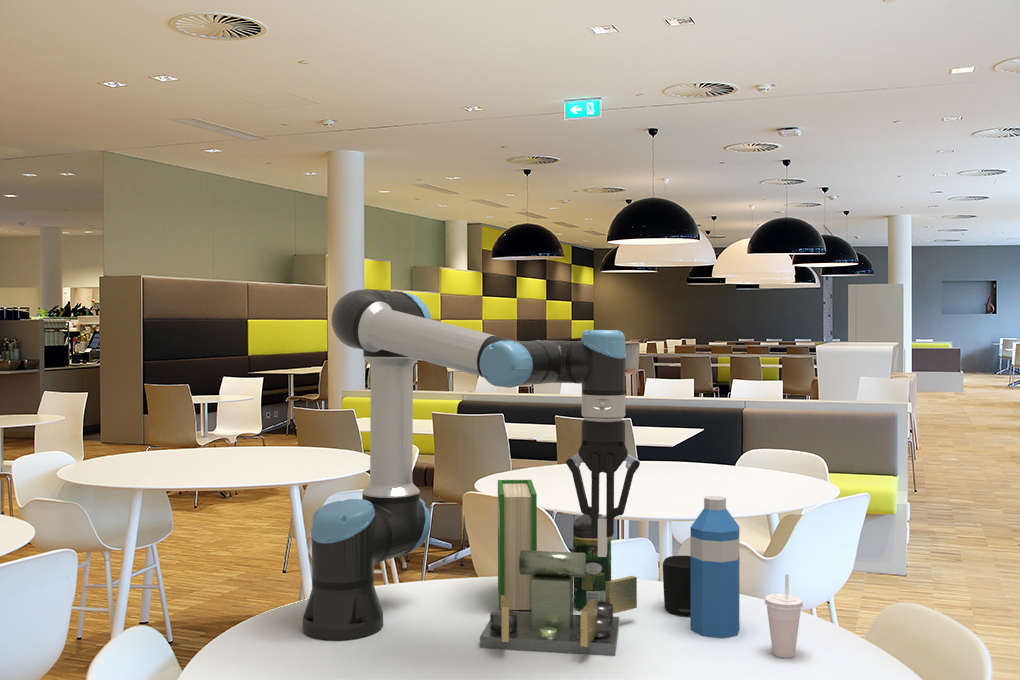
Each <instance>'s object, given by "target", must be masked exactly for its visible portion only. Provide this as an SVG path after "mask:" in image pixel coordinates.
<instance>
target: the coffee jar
mask: <svg viewBox="0 0 1020 680" xmlns="http://www.w3.org/2000/svg"><path fill="white" fill-rule="evenodd" d="M599 516H604V515H603V514H600V513H599ZM572 527H573V529H572V530H573V531H572V552H577V553H585V554H586V573H585V577H573V606H574V608H576V609H577V610H580V611H581V610H582V609H583V608H584V607H585V605H586V604H587V603H588V602H589V601H590V600H591V599H592V600H597V601H604V602H606V581H610V580H612V537H607V556H606V557H598V536H592V534H591V517H590V516H589V515H587V514H583V513H582V515H581V516H578V517H576V518H575V520H574V521H573V526H572Z"/></svg>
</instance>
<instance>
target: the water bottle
mask: <svg viewBox="0 0 1020 680" xmlns="http://www.w3.org/2000/svg"><path fill="white" fill-rule="evenodd" d="M690 556H691V617H690V631H692V632H694V633H695V634H698V635H699V636H701V637H707V638H716V639H725V638H731V637H736V636H738V635H739V632H740V629H741V628H740V525H739V523H738V522H737V521H736V520H735V519H734V517H733V516H732V514H731V513H730V511H729V510H728V509H727V497H724V496H720V495H708V496H704V497H703V509H702V511H701V512H700V513H699V515H698V516H697V517H696V518H695V520H694V522H693V523H692V524H691V526H690Z"/></svg>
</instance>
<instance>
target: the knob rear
mask: <svg viewBox="0 0 1020 680" xmlns="http://www.w3.org/2000/svg"><path fill="white" fill-rule="evenodd" d="M637 580H638V577H637V576H635V575H630V576H626V577H625V576H624V577H621V578H615V579H611V580H610V581H606V602H604V601H597V614H600V615H605V616H608V617H610V618H611V621H612V620H613V616H614V614H618V613H621V612H626V611H629V610H634V609H637V608H638V605H637V602H638V597H637V595H638V593H637V592H638V589H637V588H638V581H637Z"/></svg>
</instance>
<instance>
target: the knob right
mask: <svg viewBox="0 0 1020 680" xmlns="http://www.w3.org/2000/svg"><path fill="white" fill-rule="evenodd" d="M580 615H581V646H583V647H588V646H589V644H590V643H591V642H592V640H593V639H594V638H595V637H606V636H609V635H610V634H611V618H610V617H608V616H605V615H600V614H597V600H592V599H591V600H590V601H589V602H588V603H587V604H586V605H585V607H584V608H583V609H582V610H581V609H580Z"/></svg>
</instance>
